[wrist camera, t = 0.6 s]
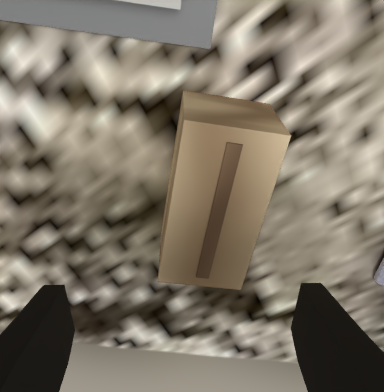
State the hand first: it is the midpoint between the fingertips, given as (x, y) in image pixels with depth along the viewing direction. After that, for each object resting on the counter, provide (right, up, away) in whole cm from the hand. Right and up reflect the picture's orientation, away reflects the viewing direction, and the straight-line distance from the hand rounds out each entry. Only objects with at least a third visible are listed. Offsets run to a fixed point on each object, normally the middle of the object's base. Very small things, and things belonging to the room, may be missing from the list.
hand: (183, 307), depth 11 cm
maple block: (+1, +5, +7) cm, 9 cm away
